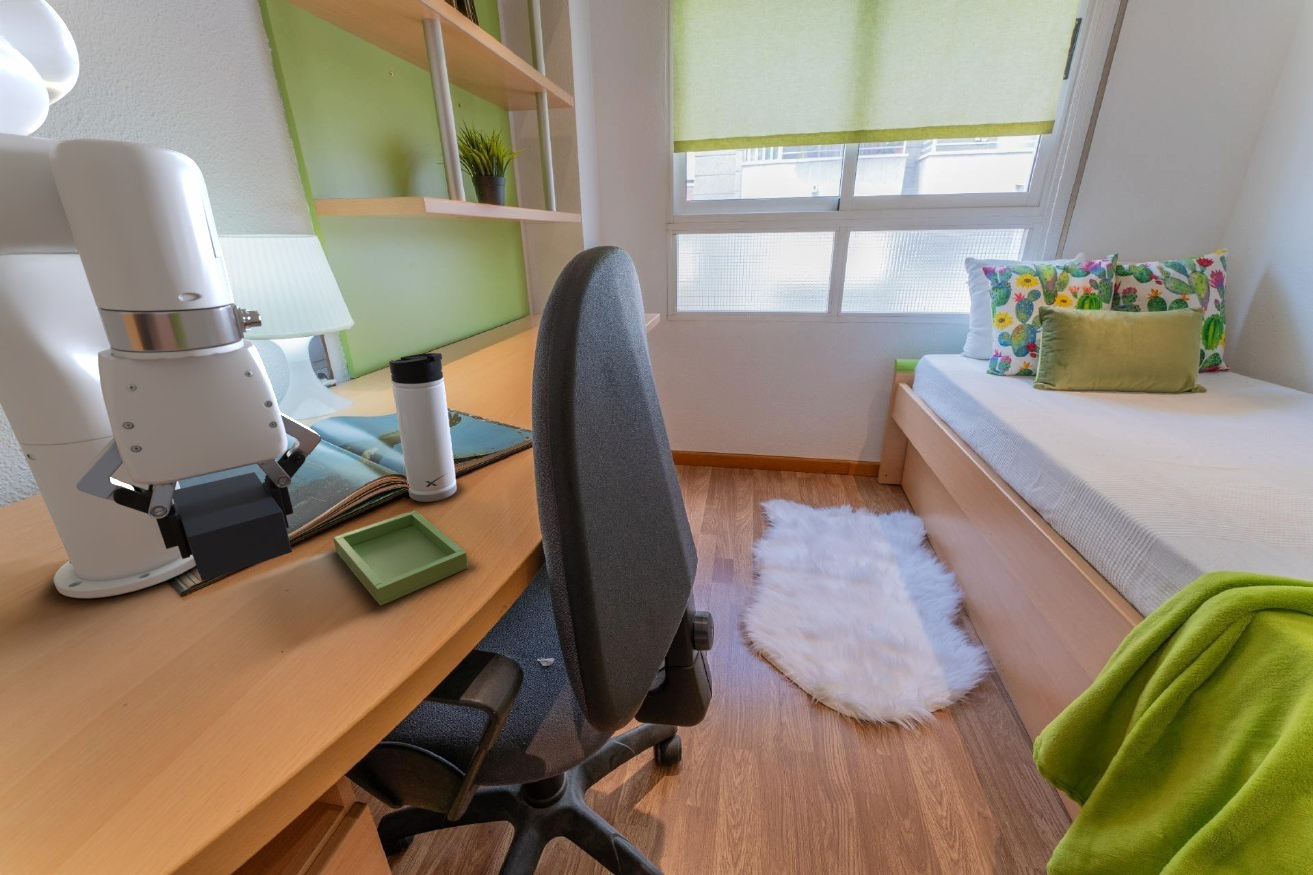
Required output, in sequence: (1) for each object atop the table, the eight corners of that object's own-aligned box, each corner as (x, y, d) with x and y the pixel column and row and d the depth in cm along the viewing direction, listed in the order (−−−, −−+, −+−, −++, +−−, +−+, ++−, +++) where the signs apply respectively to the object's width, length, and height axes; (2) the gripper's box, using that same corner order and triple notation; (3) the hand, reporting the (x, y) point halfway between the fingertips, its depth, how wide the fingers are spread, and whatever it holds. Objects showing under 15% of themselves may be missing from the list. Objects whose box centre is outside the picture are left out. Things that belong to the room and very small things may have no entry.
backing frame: (336, 552, 59) (332, 536, 59) (417, 523, 66) (415, 509, 65) (380, 606, 51) (377, 589, 50) (468, 567, 57) (466, 552, 56)
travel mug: (443, 505, 70) (423, 359, 63) (399, 499, 71) (375, 356, 64) (467, 485, 76) (452, 350, 69) (427, 480, 77) (408, 347, 70)
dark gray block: (183, 530, 47) (170, 490, 45) (263, 508, 51) (254, 471, 49) (202, 581, 40) (187, 537, 39) (292, 552, 44) (282, 511, 43)
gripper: (296, 315, 47) (331, 491, 54) (1, 332, 35) (92, 556, 42) (322, 328, 42) (357, 519, 49) (-9, 352, 31) (95, 601, 37)
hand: (234, 534), depth 45 cm, fingers closed on dark gray block, 6 cm apart
